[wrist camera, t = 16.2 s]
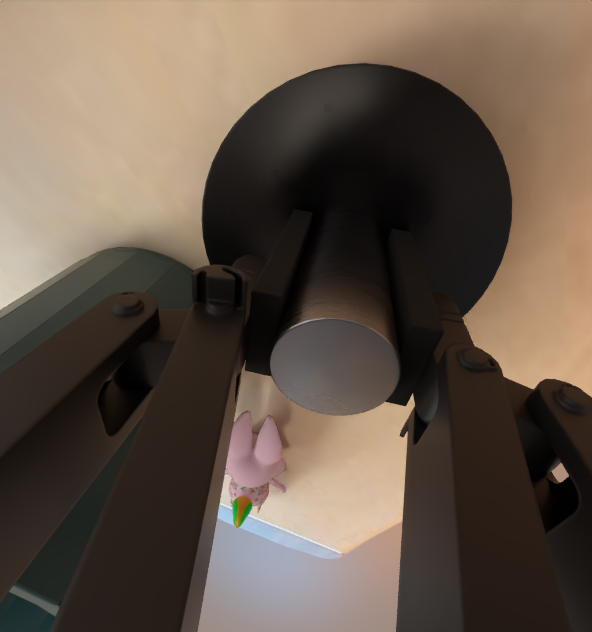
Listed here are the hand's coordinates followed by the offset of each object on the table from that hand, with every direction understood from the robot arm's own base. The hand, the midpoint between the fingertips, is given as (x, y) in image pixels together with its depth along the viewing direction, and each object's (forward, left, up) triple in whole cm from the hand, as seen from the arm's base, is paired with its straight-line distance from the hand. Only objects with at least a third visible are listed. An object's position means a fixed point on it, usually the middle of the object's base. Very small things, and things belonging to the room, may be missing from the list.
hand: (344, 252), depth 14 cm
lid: (0, 0, -1) cm, 1 cm away
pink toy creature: (+3, +20, -4) cm, 20 cm away
